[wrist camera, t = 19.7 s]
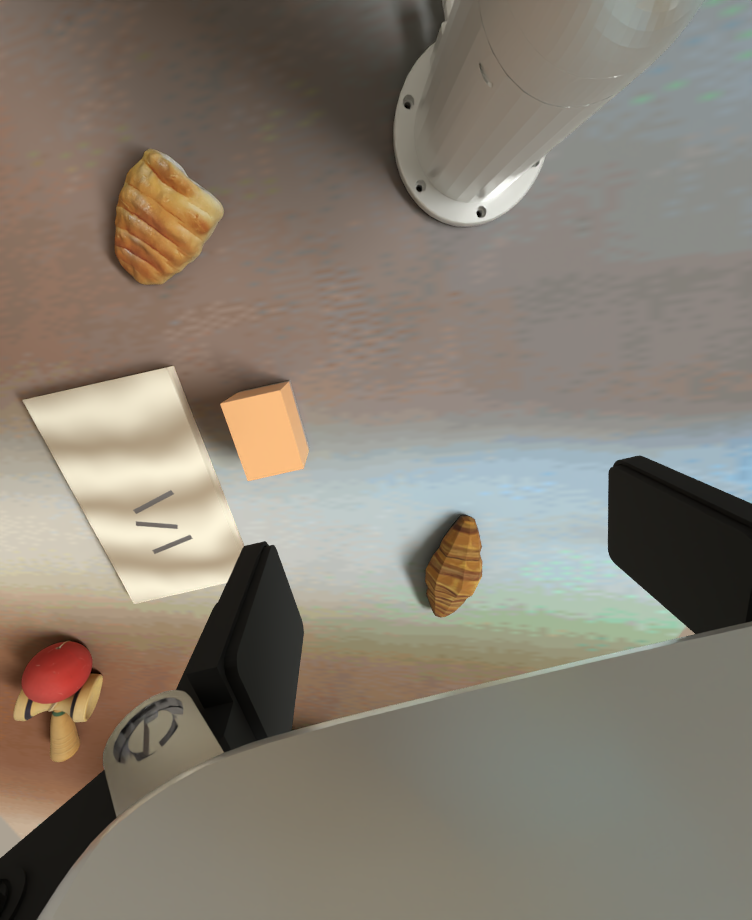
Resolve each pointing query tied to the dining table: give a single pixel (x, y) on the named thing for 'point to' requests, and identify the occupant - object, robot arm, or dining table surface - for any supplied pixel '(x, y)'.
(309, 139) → the dining table surface
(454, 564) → the croissant
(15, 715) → the kendama
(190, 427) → the ash board
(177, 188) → the pastry
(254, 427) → the block
